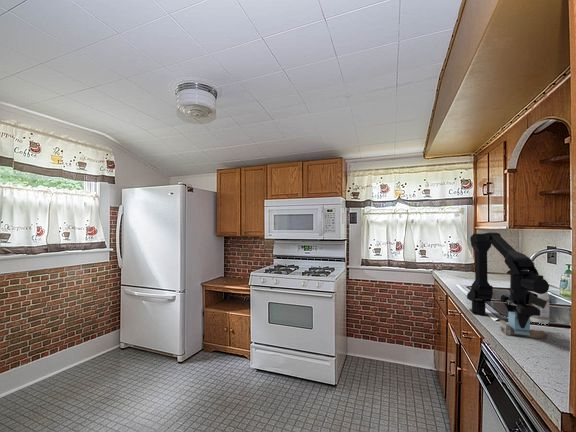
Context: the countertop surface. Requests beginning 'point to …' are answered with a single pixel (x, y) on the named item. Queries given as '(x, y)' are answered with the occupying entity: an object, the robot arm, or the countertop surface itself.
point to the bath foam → (542, 310)
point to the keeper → (515, 324)
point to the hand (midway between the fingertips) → (518, 325)
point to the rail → (533, 333)
